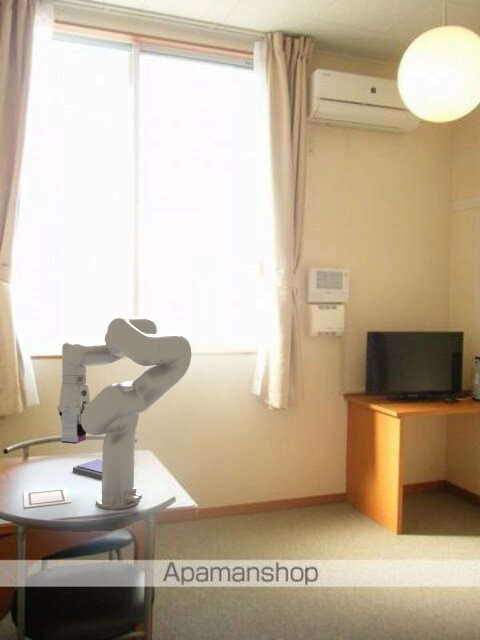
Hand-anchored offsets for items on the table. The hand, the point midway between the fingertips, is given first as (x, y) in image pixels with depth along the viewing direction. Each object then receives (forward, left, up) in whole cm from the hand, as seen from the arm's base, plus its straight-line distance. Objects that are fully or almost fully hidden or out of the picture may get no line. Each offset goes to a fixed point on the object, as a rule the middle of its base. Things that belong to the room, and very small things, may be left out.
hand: (74, 433), depth 177 cm
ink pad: (+4, -16, -17) cm, 24 cm away
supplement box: (0, 0, -3) cm, 3 cm away
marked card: (-2, +12, -17) cm, 21 cm away
